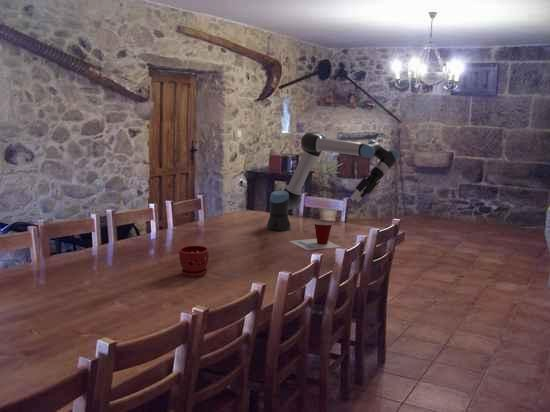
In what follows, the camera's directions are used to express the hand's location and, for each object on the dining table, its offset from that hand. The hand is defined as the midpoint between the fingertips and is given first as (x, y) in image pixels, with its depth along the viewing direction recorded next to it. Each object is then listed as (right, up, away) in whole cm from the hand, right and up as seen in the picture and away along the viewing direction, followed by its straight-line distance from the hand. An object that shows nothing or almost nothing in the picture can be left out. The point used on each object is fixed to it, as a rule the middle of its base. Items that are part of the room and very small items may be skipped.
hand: (354, 199), depth 331 cm
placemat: (-23, -25, -7) cm, 35 cm away
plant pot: (-83, -35, -72) cm, 115 cm away
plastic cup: (-19, -25, -5) cm, 32 cm away
